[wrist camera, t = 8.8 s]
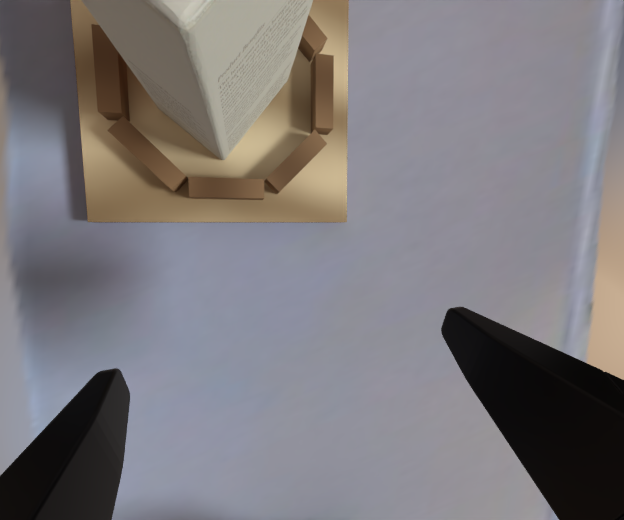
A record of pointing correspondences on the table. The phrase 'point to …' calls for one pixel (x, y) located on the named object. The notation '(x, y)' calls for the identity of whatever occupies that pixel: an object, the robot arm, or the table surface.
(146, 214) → the board
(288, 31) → the skincare box
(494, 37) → the table surface
